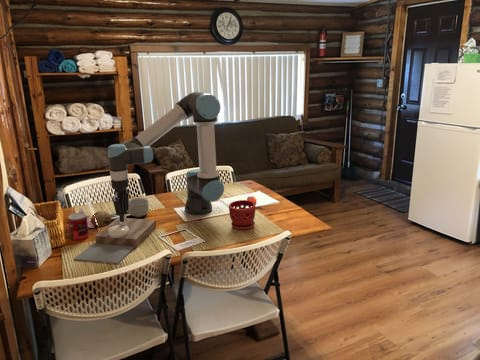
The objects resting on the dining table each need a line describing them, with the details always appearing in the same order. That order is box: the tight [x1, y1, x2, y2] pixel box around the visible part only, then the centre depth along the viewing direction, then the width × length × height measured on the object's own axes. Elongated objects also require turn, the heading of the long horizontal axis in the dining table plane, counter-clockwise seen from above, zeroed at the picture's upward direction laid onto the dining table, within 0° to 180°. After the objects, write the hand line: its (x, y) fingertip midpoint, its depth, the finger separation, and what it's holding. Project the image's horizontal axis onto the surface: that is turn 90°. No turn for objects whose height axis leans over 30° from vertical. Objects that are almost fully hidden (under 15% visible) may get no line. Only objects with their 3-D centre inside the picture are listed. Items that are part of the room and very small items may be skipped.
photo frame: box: [158, 228, 206, 252], centre depth 181 cm, size 15×1×18 cm
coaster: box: [108, 225, 129, 238], centre depth 178 cm, size 9×9×2 cm
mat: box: [73, 242, 135, 265], centre depth 168 cm, size 20×15×1 cm
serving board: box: [94, 217, 157, 248], centre depth 186 cm, size 20×22×4 cm
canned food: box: [67, 212, 90, 242], centre depth 183 cm, size 8×8×11 cm
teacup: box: [127, 197, 150, 218], centre depth 210 cm, size 14×11×8 cm
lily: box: [78, 207, 95, 229], centre depth 192 cm, size 12×12×10 cm
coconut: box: [89, 210, 113, 227], centre depth 200 cm, size 10×10×8 cm
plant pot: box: [228, 199, 256, 231], centre depth 194 cm, size 13×13×12 cm
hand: (123, 227), depth 183 cm, fingers closed
